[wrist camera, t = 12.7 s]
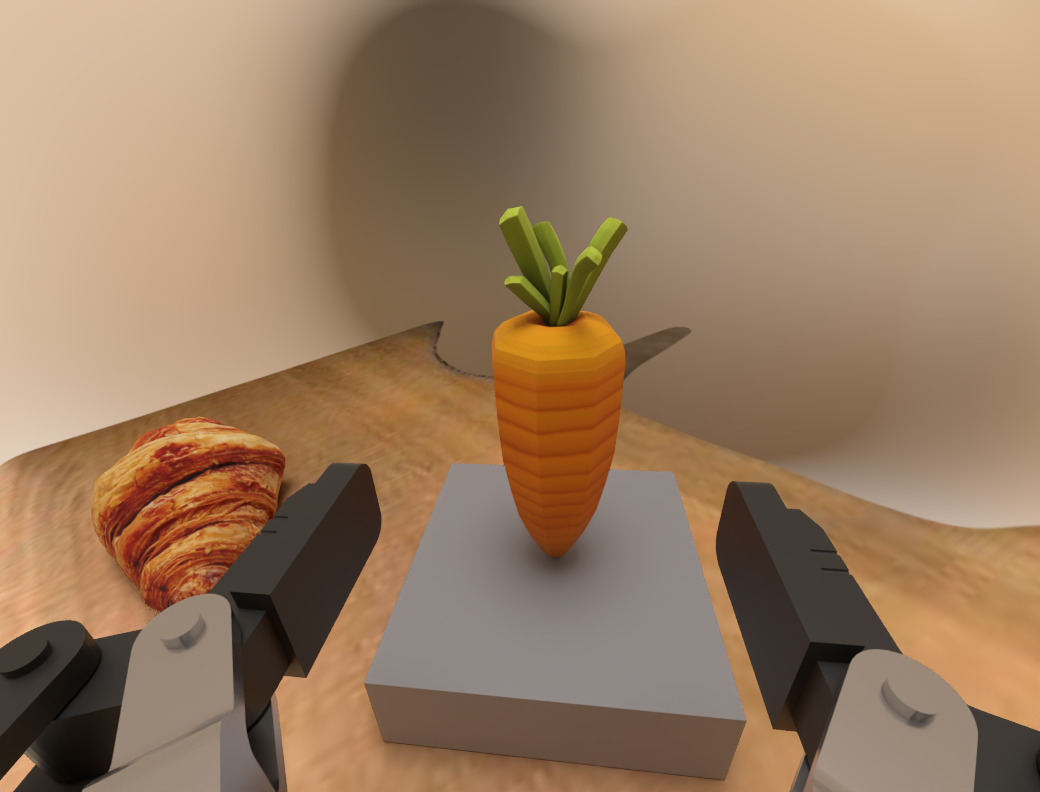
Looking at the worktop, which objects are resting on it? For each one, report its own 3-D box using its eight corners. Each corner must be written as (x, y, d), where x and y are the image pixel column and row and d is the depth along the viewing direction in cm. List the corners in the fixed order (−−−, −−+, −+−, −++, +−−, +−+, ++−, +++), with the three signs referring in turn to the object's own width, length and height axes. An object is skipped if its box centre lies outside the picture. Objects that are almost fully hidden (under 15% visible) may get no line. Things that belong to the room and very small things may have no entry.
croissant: (181, 489, 38) (83, 432, 33) (279, 408, 40) (200, 343, 35) (178, 709, 23) (-11, 664, 18) (339, 557, 25) (212, 478, 20)
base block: (665, 524, 28) (673, 471, 26) (724, 780, 17) (746, 720, 15) (458, 513, 30) (451, 463, 28) (383, 741, 18) (364, 683, 16)
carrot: (617, 528, 22) (644, 196, 16) (600, 614, 18) (627, 213, 11) (521, 509, 24) (507, 198, 17) (485, 584, 20) (447, 213, 13)
